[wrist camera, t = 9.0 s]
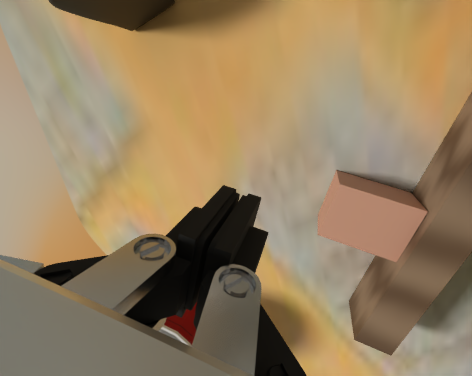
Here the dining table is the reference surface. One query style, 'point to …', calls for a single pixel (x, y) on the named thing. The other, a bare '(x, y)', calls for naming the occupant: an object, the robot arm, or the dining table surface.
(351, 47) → the dining table surface
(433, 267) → the brown blocky bar
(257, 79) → the dining table surface
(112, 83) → the dining table surface
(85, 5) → the battery charger
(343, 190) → the terracotta block
